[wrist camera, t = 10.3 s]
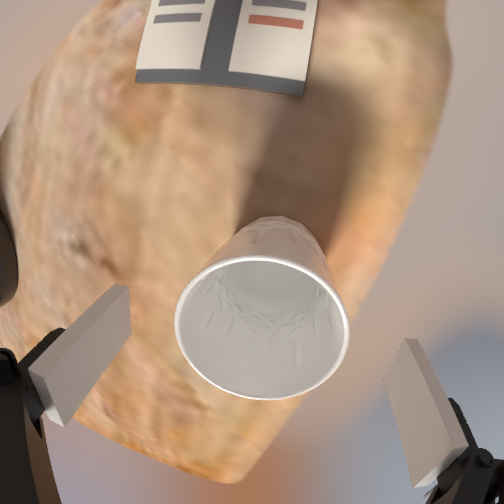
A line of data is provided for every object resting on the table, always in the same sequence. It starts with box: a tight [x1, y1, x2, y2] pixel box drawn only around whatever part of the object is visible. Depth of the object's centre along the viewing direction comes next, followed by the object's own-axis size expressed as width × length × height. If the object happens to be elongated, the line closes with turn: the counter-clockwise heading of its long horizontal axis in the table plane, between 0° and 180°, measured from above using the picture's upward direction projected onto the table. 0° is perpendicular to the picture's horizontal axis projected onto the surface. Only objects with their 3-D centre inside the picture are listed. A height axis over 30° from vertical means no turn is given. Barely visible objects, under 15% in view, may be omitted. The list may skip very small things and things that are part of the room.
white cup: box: [174, 216, 350, 400], centre depth 18 cm, size 8×8×10 cm
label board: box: [135, 0, 318, 97], centre depth 17 cm, size 12×9×1 cm
